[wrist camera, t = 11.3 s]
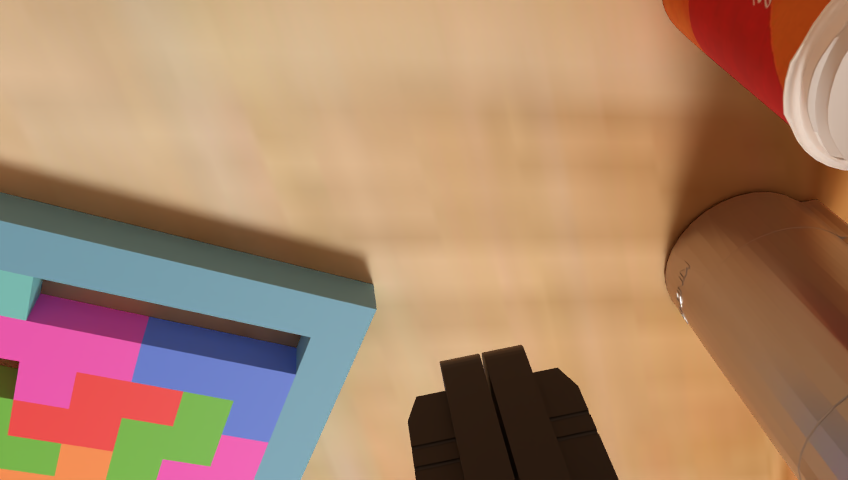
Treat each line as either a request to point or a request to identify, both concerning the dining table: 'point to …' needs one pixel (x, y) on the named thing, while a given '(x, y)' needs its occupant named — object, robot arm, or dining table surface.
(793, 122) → the paper cup
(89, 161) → the dining table surface
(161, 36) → the dining table surface
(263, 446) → the tetris game
